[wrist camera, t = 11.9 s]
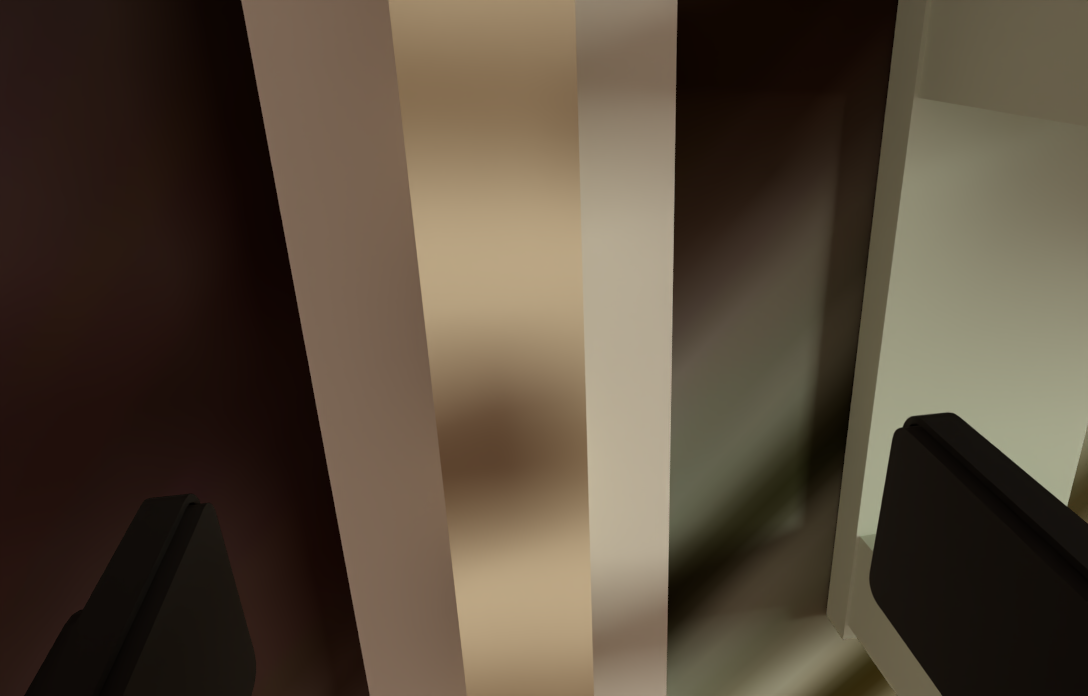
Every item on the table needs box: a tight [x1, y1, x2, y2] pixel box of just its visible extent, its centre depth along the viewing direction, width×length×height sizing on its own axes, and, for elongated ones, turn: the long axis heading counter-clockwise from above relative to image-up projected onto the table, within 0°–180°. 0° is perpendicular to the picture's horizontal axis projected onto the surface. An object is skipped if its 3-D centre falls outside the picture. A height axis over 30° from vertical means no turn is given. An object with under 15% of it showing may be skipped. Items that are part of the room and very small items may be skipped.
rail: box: [388, 0, 594, 696], centre depth 16 cm, size 20×3×3 cm, turn 3°
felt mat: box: [241, 0, 677, 696], centre depth 18 cm, size 24×8×1 cm, turn 3°
